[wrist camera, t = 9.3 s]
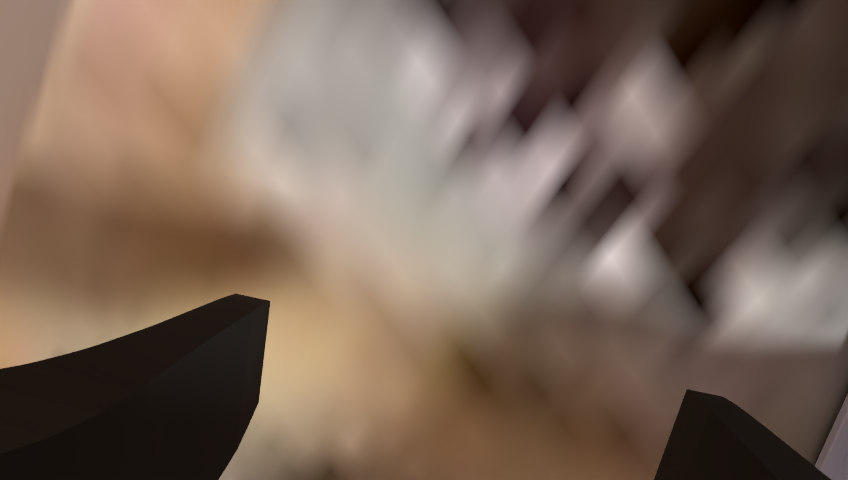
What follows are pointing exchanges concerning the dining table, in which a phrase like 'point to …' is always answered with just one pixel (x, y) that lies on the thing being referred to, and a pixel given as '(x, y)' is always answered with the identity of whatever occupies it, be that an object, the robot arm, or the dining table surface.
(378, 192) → the dining table surface
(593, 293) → the dining table surface
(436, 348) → the dining table surface
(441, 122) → the dining table surface
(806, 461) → the robot arm
